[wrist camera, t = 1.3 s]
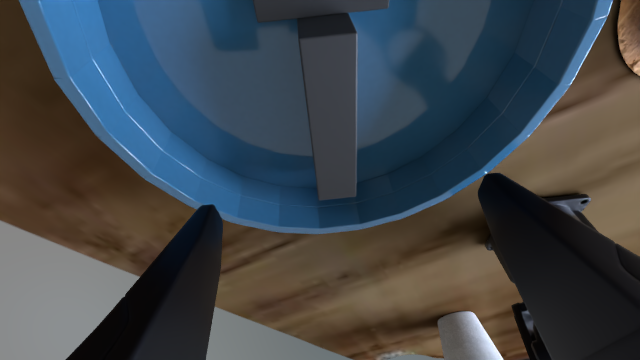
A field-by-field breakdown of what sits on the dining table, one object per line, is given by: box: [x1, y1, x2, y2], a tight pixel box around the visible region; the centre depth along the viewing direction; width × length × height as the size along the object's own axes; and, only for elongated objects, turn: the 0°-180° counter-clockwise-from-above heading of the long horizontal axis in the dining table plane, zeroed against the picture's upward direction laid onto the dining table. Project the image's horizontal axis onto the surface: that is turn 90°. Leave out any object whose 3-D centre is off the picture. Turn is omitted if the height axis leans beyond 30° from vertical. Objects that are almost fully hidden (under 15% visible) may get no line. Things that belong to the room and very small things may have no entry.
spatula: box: [253, 0, 389, 200], centre depth 13 cm, size 15×6×3 cm, turn 5°
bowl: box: [18, 0, 613, 234], centre depth 13 cm, size 20×20×4 cm
